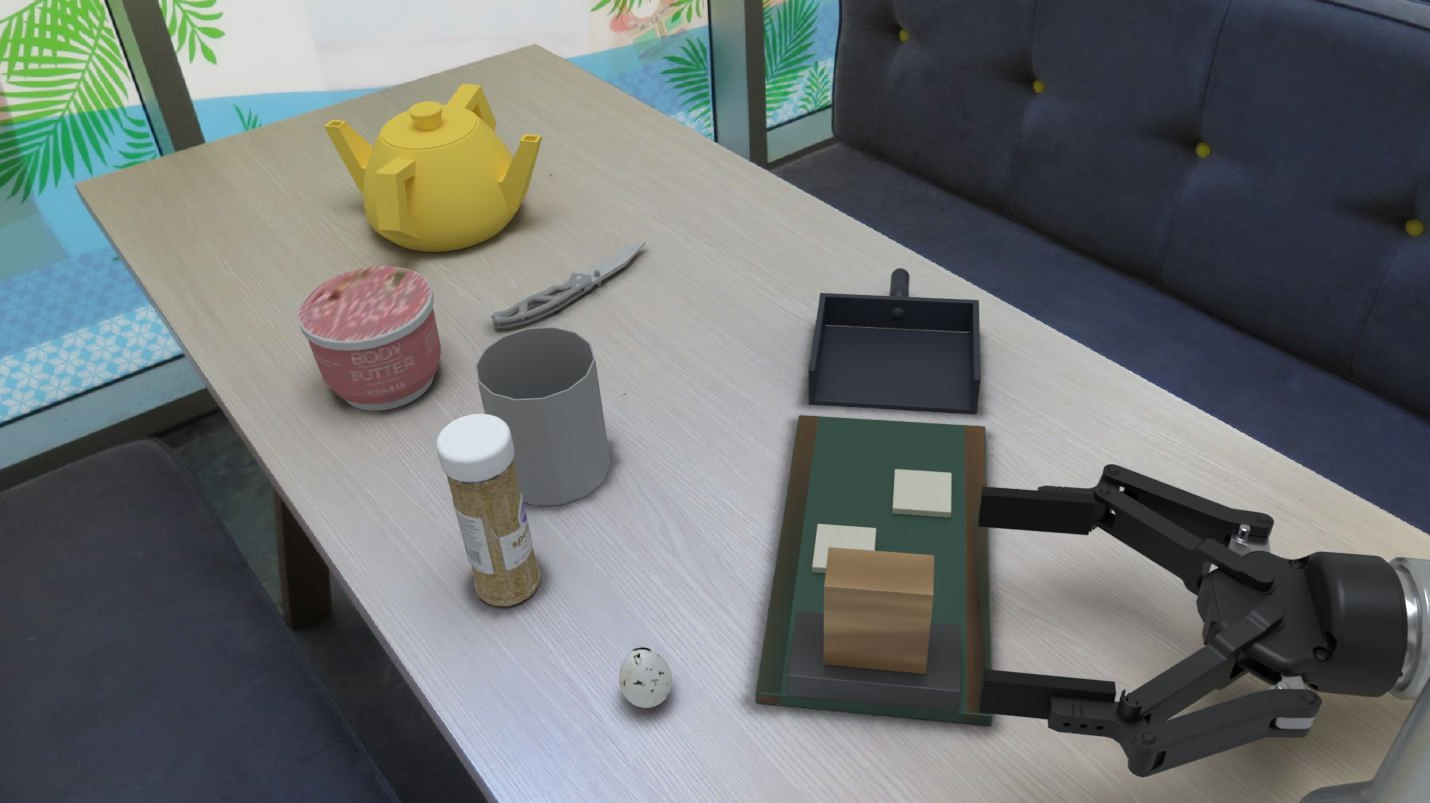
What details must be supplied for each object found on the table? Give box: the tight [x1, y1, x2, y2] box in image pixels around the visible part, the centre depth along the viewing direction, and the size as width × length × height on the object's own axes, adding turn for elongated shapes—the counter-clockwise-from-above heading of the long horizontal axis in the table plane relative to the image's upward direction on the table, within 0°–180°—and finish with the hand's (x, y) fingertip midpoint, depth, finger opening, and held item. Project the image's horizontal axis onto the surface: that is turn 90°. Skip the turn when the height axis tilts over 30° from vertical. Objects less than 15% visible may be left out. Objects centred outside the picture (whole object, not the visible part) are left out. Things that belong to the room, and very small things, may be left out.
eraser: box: [788, 547, 961, 712], centre depth 70 cm, size 5×10×9 cm, turn 81°
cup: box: [474, 326, 612, 507], centre depth 87 cm, size 8×8×10 cm
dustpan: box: [807, 267, 982, 415], centre depth 98 cm, size 16×13×3 cm
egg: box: [618, 646, 673, 709], centre depth 72 cm, size 3×3×5 cm
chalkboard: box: [755, 414, 994, 726], centre depth 81 cm, size 26×14×1 cm, turn 171°
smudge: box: [892, 469, 952, 518], centre depth 84 cm, size 4×4×1 cm
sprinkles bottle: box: [435, 413, 542, 607], centre depth 77 cm, size 5×5×13 cm
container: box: [297, 265, 442, 412], centre depth 97 cm, size 10×10×8 cm
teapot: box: [323, 83, 543, 253], centre depth 115 cm, size 17×17×12 cm
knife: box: [490, 242, 646, 330], centre depth 107 cm, size 2×18×3 cm
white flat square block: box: [812, 524, 876, 573], centre depth 80 cm, size 4×4×1 cm
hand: (979, 591), depth 67 cm, fingers open, 13 cm apart
